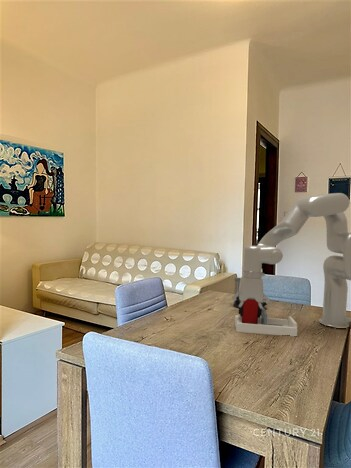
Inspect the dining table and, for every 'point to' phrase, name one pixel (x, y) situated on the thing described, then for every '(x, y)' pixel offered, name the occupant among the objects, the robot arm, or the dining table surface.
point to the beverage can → (250, 311)
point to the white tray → (268, 326)
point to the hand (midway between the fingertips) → (249, 316)
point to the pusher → (264, 318)
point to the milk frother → (237, 282)
